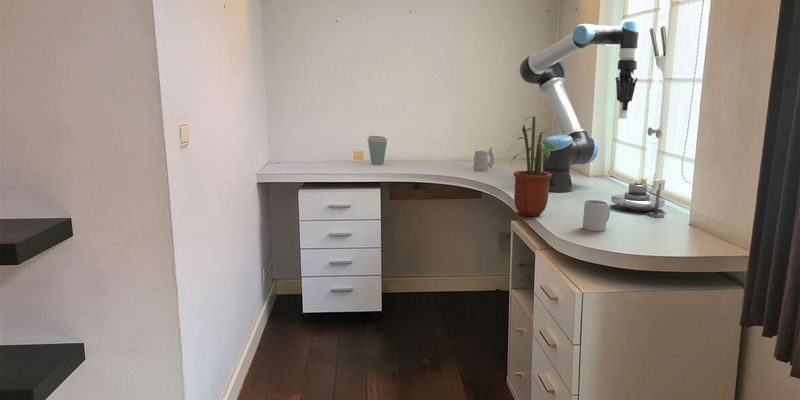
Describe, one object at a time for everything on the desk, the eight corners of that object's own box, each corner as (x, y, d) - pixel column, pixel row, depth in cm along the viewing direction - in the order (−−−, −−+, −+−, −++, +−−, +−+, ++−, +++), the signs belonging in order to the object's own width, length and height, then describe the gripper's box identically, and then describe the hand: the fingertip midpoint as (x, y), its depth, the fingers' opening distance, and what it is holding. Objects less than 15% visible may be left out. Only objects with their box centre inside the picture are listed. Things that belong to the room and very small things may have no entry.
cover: (646, 202, 226) (648, 186, 225) (621, 199, 231) (623, 183, 230) (652, 198, 233) (653, 183, 232) (627, 195, 238) (629, 180, 237)
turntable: (659, 210, 220) (661, 187, 218) (605, 203, 229) (607, 181, 228) (668, 202, 235) (671, 180, 234) (617, 196, 245) (619, 175, 244)
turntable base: (631, 212, 227) (631, 206, 226) (615, 205, 237) (616, 200, 237) (658, 211, 228) (658, 206, 228) (641, 205, 239) (642, 200, 239)
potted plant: (541, 220, 210) (548, 117, 203) (499, 214, 218) (504, 115, 211) (557, 211, 224) (564, 115, 217) (517, 206, 232) (523, 113, 225)
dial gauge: (653, 217, 218) (657, 180, 216) (644, 213, 224) (648, 178, 222) (664, 217, 219) (668, 180, 217) (654, 213, 225) (658, 178, 222)
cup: (577, 227, 201) (579, 201, 199) (599, 224, 206) (601, 198, 204) (594, 232, 195) (597, 205, 193) (616, 229, 200) (618, 202, 198)
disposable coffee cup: (390, 164, 334) (391, 136, 332) (379, 166, 326) (379, 137, 323) (374, 162, 340) (375, 135, 337) (363, 164, 331) (363, 136, 328)
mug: (470, 169, 321) (471, 146, 319) (489, 168, 326) (490, 146, 323) (477, 171, 314) (478, 148, 312) (497, 171, 319) (498, 148, 316)
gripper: (645, 59, 241) (639, 119, 246) (628, 60, 254) (622, 117, 258) (628, 59, 240) (622, 119, 244) (611, 59, 252) (606, 117, 257)
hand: (622, 118), depth 251 cm, fingers closed
